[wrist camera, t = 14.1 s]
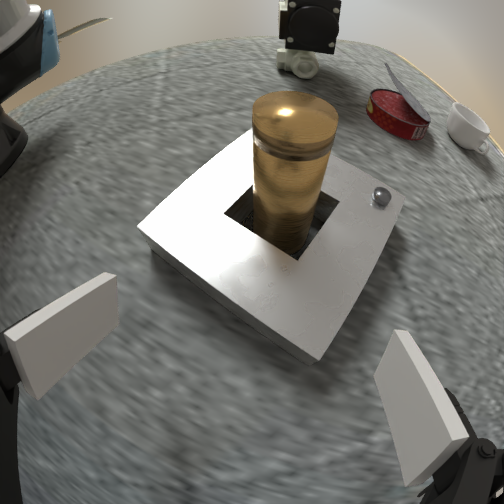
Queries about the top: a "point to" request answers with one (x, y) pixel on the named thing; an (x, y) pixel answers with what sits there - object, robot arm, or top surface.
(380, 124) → the canned food
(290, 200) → the gold metal cylinder
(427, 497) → the robot arm
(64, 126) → the top surface
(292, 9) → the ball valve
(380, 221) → the jig
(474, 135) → the teacup
